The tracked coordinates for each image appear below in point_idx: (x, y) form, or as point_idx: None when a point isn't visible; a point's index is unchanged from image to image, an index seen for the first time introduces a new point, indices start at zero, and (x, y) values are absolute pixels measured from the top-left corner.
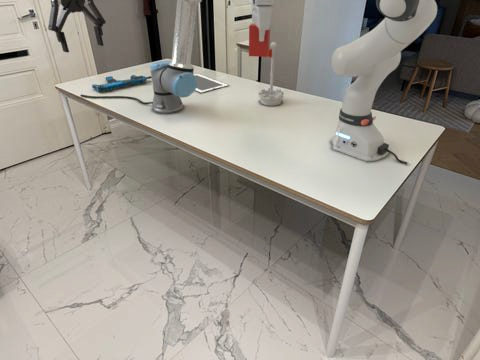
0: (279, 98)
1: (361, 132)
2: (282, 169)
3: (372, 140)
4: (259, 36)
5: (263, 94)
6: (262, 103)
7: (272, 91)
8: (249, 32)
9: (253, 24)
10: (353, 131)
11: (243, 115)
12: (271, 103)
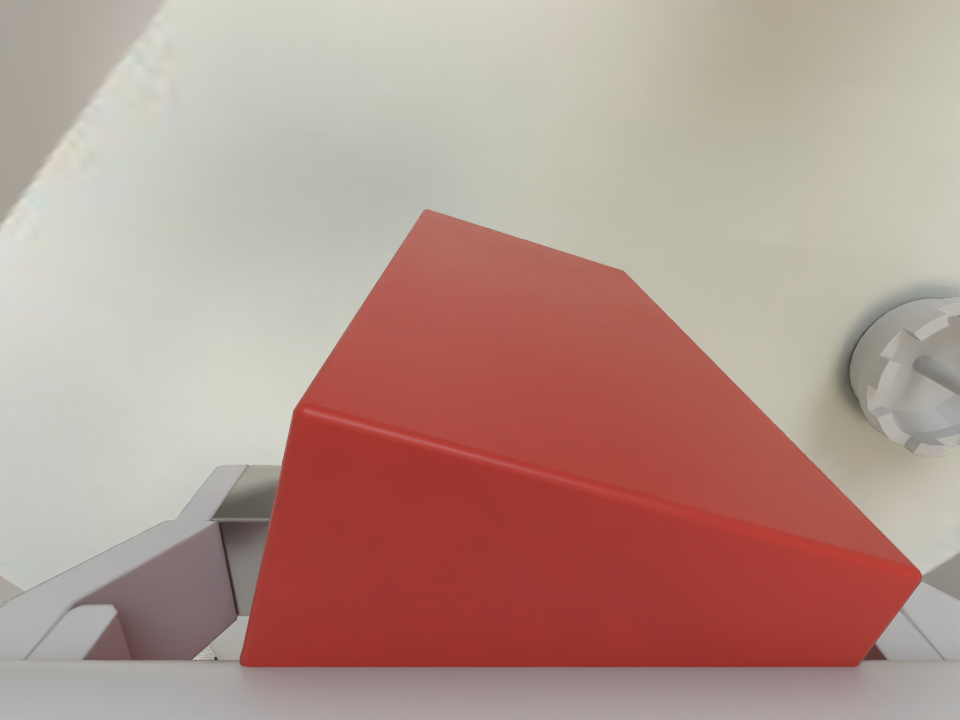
0: (866, 413)
1: (231, 645)
2: (107, 267)
3: (215, 654)
4: (179, 520)
5: (935, 328)
6: (901, 306)
7: (956, 393)
8: (356, 323)
9: (596, 611)
10: (247, 622)
11: (756, 159)
12: (861, 357)
